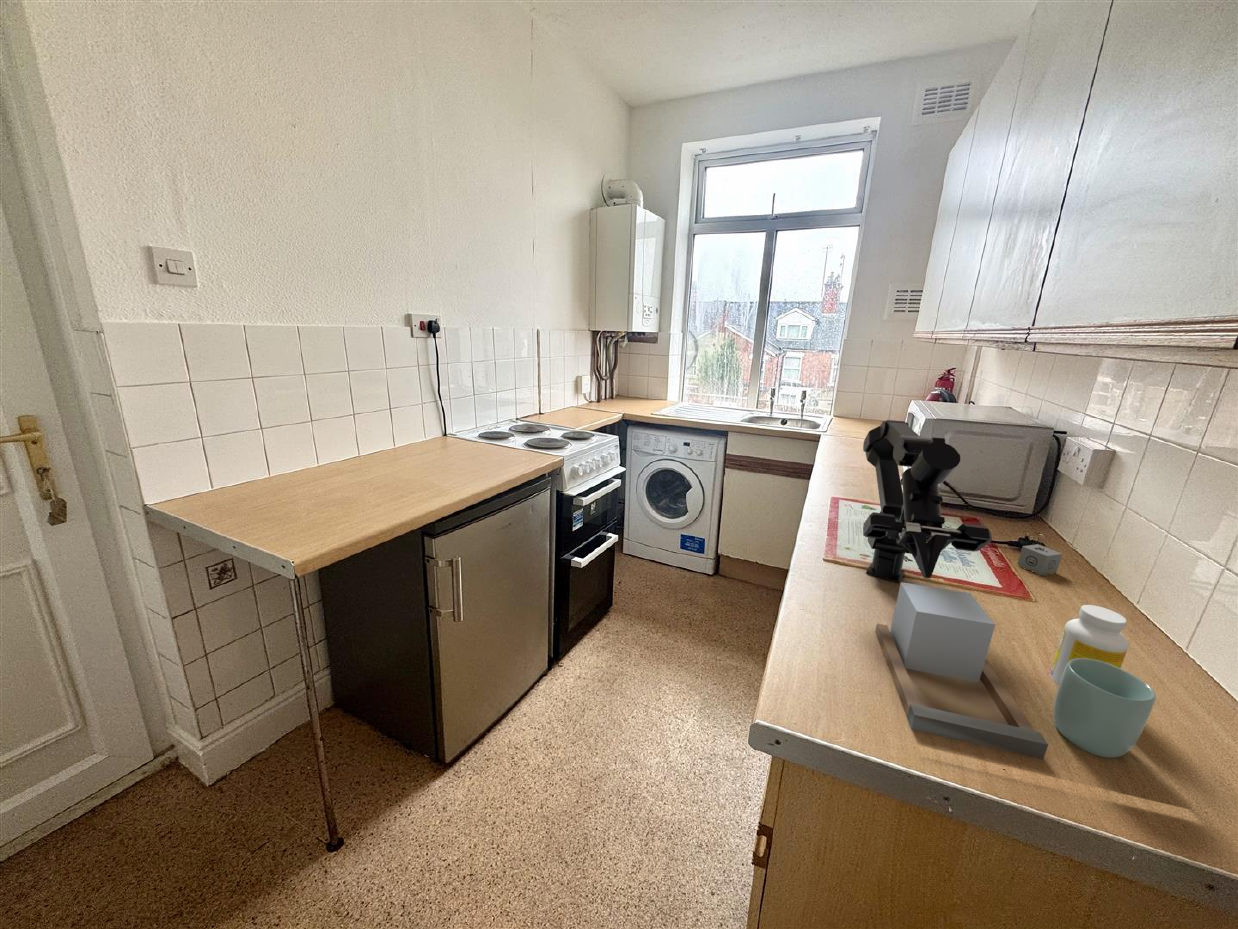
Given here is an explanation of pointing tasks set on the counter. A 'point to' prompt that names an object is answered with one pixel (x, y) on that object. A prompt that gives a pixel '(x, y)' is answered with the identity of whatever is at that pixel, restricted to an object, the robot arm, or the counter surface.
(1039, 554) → the dice cube
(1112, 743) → the cup
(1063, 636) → the supplement bottle
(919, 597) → the block
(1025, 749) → the chute
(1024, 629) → the counter surface
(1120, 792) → the counter surface
